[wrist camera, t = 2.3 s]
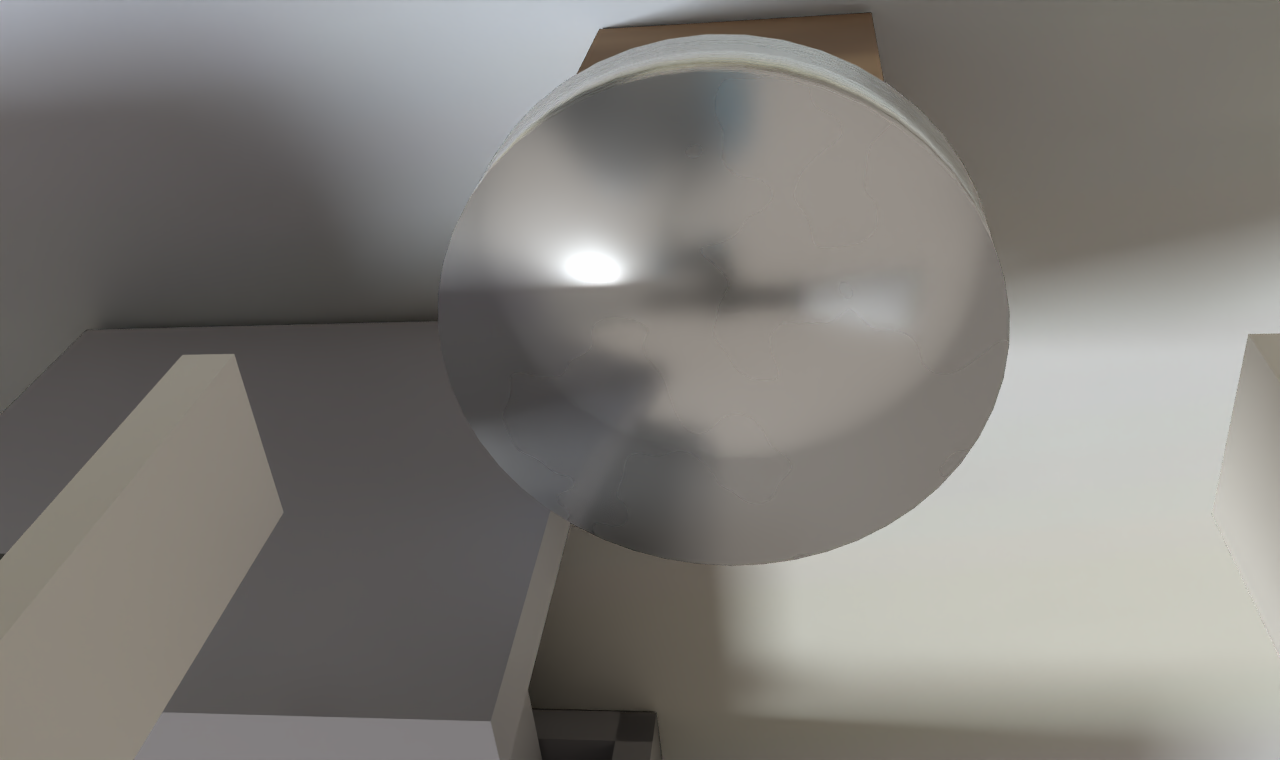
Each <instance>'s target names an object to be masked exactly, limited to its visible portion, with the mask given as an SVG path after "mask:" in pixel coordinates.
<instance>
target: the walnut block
mask: <svg viewBox="0 0 1280 760" xmlns="http://www.w3.org/2000/svg"><path fill="white" fill-rule="evenodd" d="M705 34H728V35H751V36H758V37H766V38H773V39H780V40H785V41H789V42H793V43H796V44H800V45H804V46H807V47H811V48H814V49H818V50H822V51H824V52H826V53H829V54H831V55H833V56H836V57H838V58H840V59H843V60H845V61H847V62H850V63H852V64H854V65H857V66H859V67H860V68H862V69H864V70H865V71H867V72H869V73H870V74H872V75H874V76H875V77H877V78H879V79H880V80H882V81H884V79H883V74H882V69H881V63H880V58H879V52H878V47H877V41H876V36H875V30H874V25H873V19H872V14H871V13H857V14H841V15H824V16H808V17H792V18H775V19H759V20H742V21H726V22H709V23H693V24H677V25H660V26H644V27H627V28H611V29H599V31H598V33H597V35H596V37H595V39H594V41H593V43H592V45H591V47H590V49H589V51H588V53H587V55H586V57H585V59H584V61H583V63H582V65H581V67H580V69H579V71H578V73H580V72H582V71H583V70H585V69H587V68H589V67H590V66H592V65H594V64H595V63H597V62H600V61H602V60H605V59H607V58H610V57H612V56H614V55H617V54H619V53H622V52H624V51H627V50H629V49H632V48H636V47H639V46H643V45H647V44H651V43H655V42H658V41H662V40H666V39H673V38H681V37H689V36H697V35H705ZM578 73H577V74H578Z"/></svg>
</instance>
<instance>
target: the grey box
mask: <svg viewBox="0 0 1280 760" xmlns="http://www.w3.org/2000/svg"><path fill="white" fill-rule="evenodd" d="M532 712H533V717H534V722H535V727H536V732H537V737H538V742H539V747H540V751H541V756H542V760H662V754H661V746H660V737H659V729H658V721H657V713H654V712H615V711H577V710H538V709H532Z"/></svg>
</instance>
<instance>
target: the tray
mask: <svg viewBox="0 0 1280 760" xmlns="http://www.w3.org/2000/svg"><path fill="white" fill-rule="evenodd" d="M202 354H234V355H235V358H236V361H237V365H238V368H239V371H240V374H241V377H242V381H243V384H244V387H245V390H246V393H247V397H248V400H249V403H250V406H251V409H252V413H253V416H254V419H255V422H256V426H257V429H258V432H259V435H260V438H261V442H262V445H263V448H264V451H265V454H266V458H267V461H268V464H269V467H270V470H271V474H272V477H273V480H274V483H275V486H276V490H277V493H278V496H279V499H280V502H281V506H282V509H283V512H284V513H283V514H282V516H281V518H280V519H279V521H278V523H277V524H276V526H275V527H274V529H273V531H272V532H271V534H270V536H269V537H268V539H267V541H266V542H265V544H264V546H263V547H262V549H261V551H260V552H259V554H258V555H257V557H256V559H255V560H254V562H253V564H252V565H251V567H250V569H249V570H248V572H247V574H246V575H245V577H244V579H243V580H242V582H241V583H240V585H239V587H238V588H237V590H236V592H235V593H234V595H233V597H232V598H231V600H230V602H229V603H228V605H227V607H226V608H225V610H224V611H223V613H222V615H221V616H220V618H219V620H218V621H217V623H216V625H215V626H214V628H213V630H212V631H211V633H210V635H209V636H208V638H207V639H206V641H205V643H204V644H203V646H202V648H201V649H200V651H199V653H198V654H197V656H196V658H195V659H194V661H193V663H192V664H191V666H190V667H189V669H188V671H187V672H186V674H185V676H184V677H183V679H182V681H181V682H180V684H179V686H178V687H177V689H176V691H175V692H174V694H173V695H172V697H171V699H170V700H169V702H168V704H167V705H166V707H165V709H164V710H163V712H162V714H161V715H160V717H159V719H158V720H157V722H156V723H155V725H154V727H153V728H152V730H151V732H150V733H149V735H148V737H147V738H146V740H145V742H144V743H143V745H142V747H141V748H140V750H139V751H138V753H137V755H136V756H135V758H134V760H542V756H541V751H540V747H539V742H538V737H537V732H536V727H535V722H534V717H533V712H532V707H531V702H530V697H529V693H528V687H529V683H530V679H531V675H532V671H533V667H534V664H535V660H536V656H537V652H538V648H539V644H540V640H541V636H542V632H543V628H544V625H545V621H546V617H547V613H548V609H549V605H550V601H551V597H552V593H553V590H554V586H555V582H556V578H557V574H558V570H559V566H560V562H561V558H562V555H563V551H564V547H565V543H566V539H567V535H568V531H569V527H570V522H569V521H567V520H565V519H564V518H562V517H561V516H559V515H558V514H556V513H554V512H553V511H551V510H550V509H548V508H546V507H545V506H544V505H543V504H541V503H540V502H539V501H538V500H536V499H535V498H534V497H533V496H531V495H530V494H529V493H527V492H526V491H525V490H524V489H522V488H521V487H520V486H519V485H518V484H517V483H516V482H515V481H514V480H513V479H512V478H511V477H510V476H509V475H508V474H507V473H506V472H505V471H504V470H503V469H502V468H501V467H500V466H499V465H498V463H497V462H496V461H495V460H494V458H493V457H492V456H491V455H490V453H489V452H488V451H487V450H486V448H485V447H484V446H483V444H482V443H481V442H480V441H479V439H478V437H477V436H476V434H475V432H474V431H473V429H472V427H471V426H470V424H469V422H468V421H467V419H466V418H465V416H464V414H463V412H462V410H461V407H460V405H459V403H458V401H457V398H456V396H455V394H454V392H453V389H452V387H451V384H450V381H449V377H448V374H447V370H446V367H445V363H444V360H443V357H442V350H441V343H440V336H439V328H438V321H426V322H385V323H343V324H302V325H261V326H219V327H178V328H137V329H95V330H86V331H85V332H84V333H83V334H82V335H81V336H80V337H79V338H78V339H77V340H76V341H75V342H74V343H73V344H72V345H71V346H70V347H69V348H68V349H67V350H66V351H64V352H63V353H62V354H61V355H60V356H59V357H58V358H57V359H56V360H55V361H54V362H53V363H52V364H51V365H50V366H49V367H48V368H47V369H46V370H45V371H44V372H43V373H42V374H41V375H40V376H39V377H38V378H37V379H36V380H35V381H34V382H33V383H32V384H31V385H30V386H29V387H28V388H27V389H26V390H25V391H24V392H23V393H22V394H21V395H20V396H19V397H18V398H17V399H16V400H15V401H14V402H13V403H12V404H11V405H10V406H9V407H8V408H7V409H6V410H5V411H4V412H3V413H1V414H0V554H6V553H7V552H8V551H9V550H10V548H11V547H12V546H13V545H14V544H15V543H16V542H17V541H18V539H19V538H20V537H21V536H22V535H23V534H24V533H25V532H26V530H27V529H28V528H29V527H30V526H31V525H32V524H33V523H34V521H35V520H36V519H37V518H38V517H39V516H40V515H41V514H42V512H43V511H44V510H45V509H46V508H47V507H48V506H49V505H50V503H51V502H52V501H53V500H54V499H55V498H56V497H57V496H58V494H59V493H60V492H61V491H62V490H63V489H64V488H65V487H66V485H67V484H68V483H69V482H70V481H71V480H72V479H73V478H74V476H75V475H76V474H77V473H78V472H79V471H80V470H81V469H82V467H83V466H84V465H85V464H86V463H87V462H88V461H89V460H90V458H91V457H92V456H93V455H94V454H95V453H96V452H97V451H98V449H99V448H100V447H101V446H102V445H103V444H104V443H105V442H106V440H107V439H108V438H109V437H110V436H111V435H112V434H113V433H114V431H115V430H116V429H117V428H118V427H119V426H120V425H121V424H122V422H123V421H124V420H125V419H126V418H127V417H128V416H129V415H130V413H131V412H132V411H133V410H134V409H135V408H136V407H137V406H138V404H139V403H140V402H141V401H142V400H143V399H144V398H145V397H146V395H147V394H148V393H149V392H150V391H151V390H152V389H153V388H154V386H155V385H156V384H157V383H158V382H159V381H160V380H161V379H162V377H163V376H164V375H165V374H166V373H167V372H168V371H169V369H170V368H171V367H172V366H173V365H174V364H175V363H176V362H177V360H178V359H179V358H180V357H181V356H182V355H202Z"/></svg>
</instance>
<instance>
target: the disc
mask: <svg viewBox="0 0 1280 760" xmlns="http://www.w3.org/2000/svg"><path fill="white" fill-rule="evenodd" d="M438 328H439V336H440V343H441V350H442V357H443V360H444V363H445V367H446V370H447V374H448V377H449V381H450V384H451V387H452V389H453V392H454V394H455V396H456V398H457V401H458V403H459V405H460V407H461V410H462V412H463V414H464V416H465V418H466V419H467V421H468V422H469V424H470V426H471V427H472V429H473V431H474V432H475V434H476V436H477V437H478V439H479V441H480V442H481V443H482V444H483V446H484V447H485V448H486V450H487V451H488V452H489V453H490V455H491V456H492V457H493V458H494V460H495V461H496V462H497V463H498V465H499V466H500V467H501V468H502V469H503V470H504V471H505V472H506V473H507V474H508V475H509V476H510V477H511V478H512V479H513V480H514V481H515V482H516V483H517V484H518V485H519V486H520V487H521V488H522V489H524V490H525V491H526V492H527V493H529V494H530V495H531V496H533V497H534V498H535V499H536V500H538V501H539V502H540V503H541V504H543V505H544V506H545V507H546V508H548V509H550V510H551V511H553V512H554V513H556V514H558V515H559V516H561V517H562V518H564V519H565V520H567V521H569V522H570V523H572V524H573V525H575V526H577V527H579V528H581V529H583V530H586V531H588V532H590V533H592V534H594V535H596V536H598V537H600V538H602V539H604V540H607V541H610V542H612V543H615V544H618V545H620V546H623V547H626V548H628V549H631V550H634V551H638V552H642V553H646V554H649V555H653V556H657V557H661V558H665V559H671V560H677V561H684V562H690V563H696V564H712V565H754V564H767V563H774V562H781V561H788V560H795V559H799V558H803V557H807V556H811V555H815V554H819V553H823V552H827V551H830V550H833V549H835V548H838V547H841V546H844V545H846V544H849V543H852V542H855V541H857V540H859V539H861V538H863V537H865V536H867V535H869V534H871V533H873V532H875V531H877V530H879V529H881V528H883V527H886V526H887V525H889V524H890V523H892V522H894V521H895V520H897V519H898V518H900V517H901V516H903V515H904V514H906V513H907V512H909V511H910V510H912V509H913V508H915V507H916V506H917V505H918V504H920V503H921V502H922V501H923V500H924V499H925V498H927V497H928V496H929V495H930V494H931V493H933V492H934V491H935V490H936V489H937V488H939V487H940V485H941V484H942V483H943V482H944V481H945V480H946V479H947V478H948V477H949V476H950V475H951V473H952V472H953V471H954V470H955V469H956V468H957V467H958V466H959V465H960V464H961V462H962V461H963V459H964V458H965V457H966V455H967V454H968V452H969V451H970V449H971V448H972V446H973V445H974V444H975V442H976V441H977V439H978V438H979V436H980V434H981V432H982V430H983V428H984V426H985V424H986V422H987V420H988V418H989V416H990V414H991V412H992V410H993V408H994V405H995V402H996V399H997V396H998V393H999V390H1000V387H1001V384H1002V381H1003V378H1004V372H1005V367H1006V361H1007V355H1008V349H1009V306H1008V299H1007V293H1006V286H1005V279H1004V275H1003V272H1002V269H1001V266H1000V262H999V259H998V256H997V253H996V249H995V246H994V243H993V240H992V236H991V233H990V230H989V227H988V224H987V220H986V217H985V214H984V211H983V208H982V205H981V201H980V198H979V195H978V193H977V191H976V189H975V187H974V185H973V183H972V180H971V178H970V176H969V174H968V172H967V170H966V168H965V166H964V164H963V163H962V161H961V160H960V158H959V157H958V155H957V154H956V152H955V151H954V150H953V148H952V147H951V145H950V144H949V142H948V141H947V140H946V138H945V137H944V135H943V134H942V133H941V132H940V131H939V130H938V129H937V128H936V126H935V125H934V124H933V123H932V122H931V121H930V120H929V119H928V118H927V117H926V116H925V115H924V114H923V113H922V112H921V110H920V109H919V108H918V107H916V106H915V105H914V104H913V103H911V102H910V101H909V100H908V99H906V98H905V97H904V96H903V95H901V94H900V93H899V92H898V91H896V90H895V89H894V88H893V87H891V86H890V85H889V84H887V83H885V82H884V81H882V80H880V79H879V78H877V77H875V76H874V75H872V74H870V73H869V72H867V71H865V70H864V69H862V68H860V67H859V66H857V65H854V64H852V63H850V62H847V61H845V60H843V59H840V58H838V57H836V56H833V55H831V54H829V53H826V52H824V51H822V50H818V49H814V48H811V47H807V46H804V45H800V44H796V43H793V42H789V41H785V40H780V39H773V38H766V37H758V36H751V35H728V34H705V35H697V36H689V37H681V38H673V39H666V40H662V41H658V42H655V43H651V44H647V45H643V46H639V47H636V48H632V49H629V50H627V51H624V52H622V53H619V54H617V55H614V56H612V57H610V58H607V59H605V60H602V61H600V62H597V63H595V64H594V65H592V66H590V67H589V68H587V69H585V70H583V71H582V72H580V73H578V74H577V75H575V76H573V77H571V78H570V79H568V80H566V81H565V82H563V83H562V84H561V85H560V86H558V87H557V88H556V89H555V90H553V91H552V92H551V93H549V94H548V95H547V96H546V97H544V98H543V99H542V100H541V101H539V102H538V103H537V104H536V105H535V106H534V107H533V108H532V109H531V110H530V111H529V112H528V113H527V114H526V116H525V117H524V118H523V119H522V120H521V121H520V122H519V123H518V124H517V125H516V126H515V127H514V128H513V130H512V131H511V133H510V134H509V135H508V137H507V138H506V140H505V141H504V143H503V144H502V145H501V147H500V148H499V150H498V151H497V152H496V154H495V155H494V157H493V159H492V161H491V162H490V164H489V166H488V167H487V169H486V171H485V173H484V174H483V176H482V178H481V180H480V181H479V183H478V185H477V186H476V188H475V190H474V192H473V193H472V195H471V197H470V198H469V200H468V202H467V204H466V206H465V208H464V210H463V212H462V214H461V216H460V218H459V220H458V222H457V224H456V226H455V228H454V230H453V233H452V236H451V239H450V243H449V246H448V249H447V252H446V255H445V258H444V261H443V267H442V273H441V280H440V286H439V292H438Z"/></svg>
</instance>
